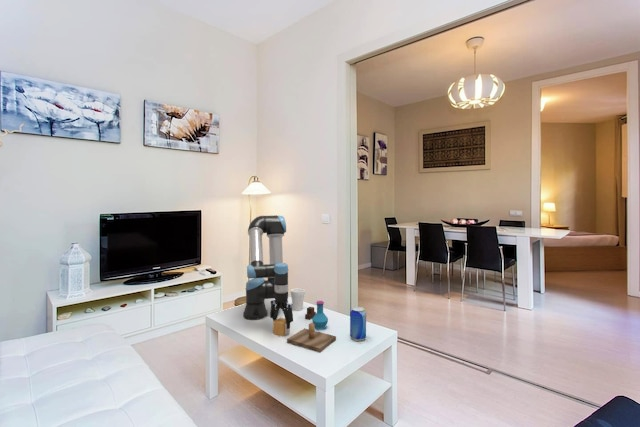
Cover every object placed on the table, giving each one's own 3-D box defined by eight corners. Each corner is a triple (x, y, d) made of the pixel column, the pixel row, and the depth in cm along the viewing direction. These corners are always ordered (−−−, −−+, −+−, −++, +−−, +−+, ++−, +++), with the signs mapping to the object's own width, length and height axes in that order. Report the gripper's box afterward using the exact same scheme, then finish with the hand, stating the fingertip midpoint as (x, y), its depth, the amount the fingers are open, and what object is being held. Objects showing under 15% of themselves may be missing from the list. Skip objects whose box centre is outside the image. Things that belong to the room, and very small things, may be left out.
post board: (286, 342, 160) (286, 325, 159) (304, 331, 173) (304, 315, 173) (319, 352, 149) (319, 334, 149) (335, 340, 163) (335, 323, 162)
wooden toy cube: (273, 333, 171) (273, 321, 171) (280, 329, 176) (280, 317, 176) (282, 336, 167) (282, 323, 167) (289, 332, 173) (289, 319, 173)
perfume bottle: (308, 326, 180) (308, 301, 180) (321, 322, 186) (321, 298, 186) (319, 331, 173) (319, 305, 173) (331, 327, 179) (331, 301, 179)
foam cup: (288, 309, 209) (287, 290, 209) (296, 306, 217) (296, 287, 216) (298, 312, 204) (298, 293, 203) (307, 308, 211) (307, 289, 211)
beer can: (369, 338, 165) (369, 308, 165) (360, 343, 159) (360, 312, 158) (356, 333, 171) (356, 304, 170) (346, 338, 165) (347, 308, 164)
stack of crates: (316, 325, 184) (316, 314, 184) (295, 320, 192) (295, 309, 192) (328, 317, 197) (328, 306, 197) (309, 313, 205) (309, 302, 204)
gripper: (263, 290, 173) (263, 331, 174) (291, 296, 163) (291, 339, 163) (271, 287, 179) (272, 326, 180) (300, 292, 169) (300, 334, 170)
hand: (281, 332), depth 172 cm, fingers open, 7 cm apart
